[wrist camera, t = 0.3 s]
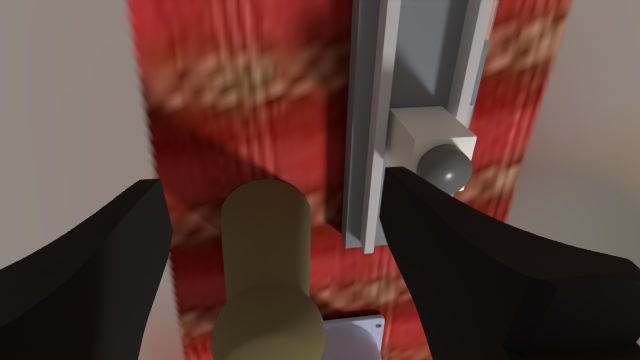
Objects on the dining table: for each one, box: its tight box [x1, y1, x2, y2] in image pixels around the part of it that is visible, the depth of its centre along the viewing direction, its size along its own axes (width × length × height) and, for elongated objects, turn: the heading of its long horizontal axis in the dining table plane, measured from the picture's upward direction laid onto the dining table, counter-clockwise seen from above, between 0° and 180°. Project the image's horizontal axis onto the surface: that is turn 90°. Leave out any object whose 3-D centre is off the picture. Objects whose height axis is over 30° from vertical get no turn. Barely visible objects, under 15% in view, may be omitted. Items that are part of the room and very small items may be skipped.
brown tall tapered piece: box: [211, 179, 325, 360], centre depth 21 cm, size 6×6×11 cm
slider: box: [384, 106, 477, 195], centre depth 19 cm, size 3×3×5 cm
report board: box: [341, 0, 499, 254], centre depth 21 cm, size 18×7×4 cm, turn 179°
